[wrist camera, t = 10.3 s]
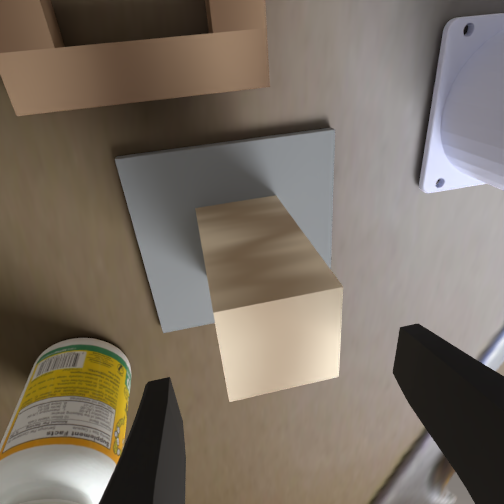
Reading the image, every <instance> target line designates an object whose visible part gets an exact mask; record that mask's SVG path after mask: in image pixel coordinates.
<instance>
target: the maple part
mask: <svg viewBox="0 0 504 504" xmlns="http://www.w3.org/2000/svg"><path fill="white" fill-rule="evenodd" d="M195 210H196V216H197V222H198V228H199V233H200V239H201V245H202V251H203V257H204V262H205V268H206V274H207V280H208V286H209V291H210V297H211V303H212V309H213V314H214V320H215V325H216V331H217V336H218V342H219V347H220V353H221V358H222V364H223V369H224V375H225V380H226V386H227V391H228V397H229V402H232V401H236V400H240V399H245V398H249V397H253V396H258V395H262V394H266V393H271V392H275V391H279V390H283V389H288V388H292V387H296V386H301V385H305V384H309V383H314V382H318V381H322V380H327V379H331V378H335V377H339V360H340V340H341V320H342V301H343V286H342V285H341V283H340V282H339V281H338V279H337V278H336V276H335V275H334V274H333V272H332V271H331V270H330V268H329V267H328V266H327V264H326V263H325V261H324V260H323V259H322V257H321V256H320V255H319V253H318V252H317V251H316V249H315V248H314V246H313V245H312V244H311V242H310V241H309V240H308V238H307V237H306V236H305V234H304V233H303V231H302V230H301V229H300V227H299V226H298V225H297V223H296V222H295V221H294V219H293V218H292V216H291V215H290V214H289V212H288V211H287V210H286V208H285V207H284V206H283V204H282V203H281V202H280V200H279V199H278V197H277V196H276V195H275V196H268V197H262V198H256V199H250V200H243V201H237V202H231V203H225V204H218V205H212V206H206V207H200V208H195Z"/></svg>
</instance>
